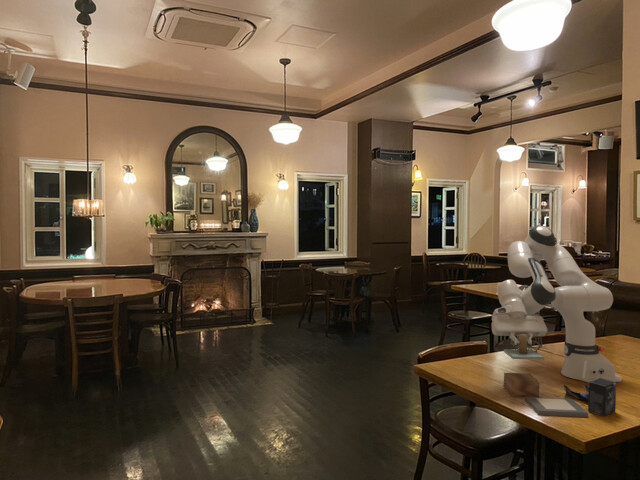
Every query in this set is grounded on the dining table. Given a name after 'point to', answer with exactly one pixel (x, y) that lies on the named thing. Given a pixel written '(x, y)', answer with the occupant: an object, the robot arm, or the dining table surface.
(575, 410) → the gray rectangular tray
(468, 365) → the dining table surface
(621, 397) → the dining table surface
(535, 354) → the lid
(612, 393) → the box
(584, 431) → the dining table surface
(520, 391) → the tea box
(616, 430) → the dining table surface
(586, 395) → the snack package
